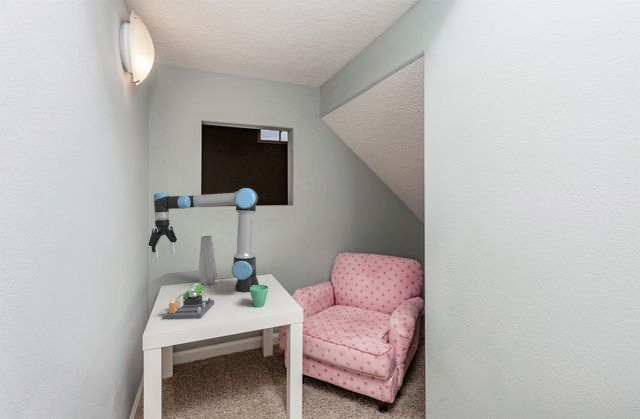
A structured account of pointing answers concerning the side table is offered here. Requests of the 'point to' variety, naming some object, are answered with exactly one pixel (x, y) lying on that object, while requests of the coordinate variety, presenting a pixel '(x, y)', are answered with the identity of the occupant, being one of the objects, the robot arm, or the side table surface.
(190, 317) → the panel
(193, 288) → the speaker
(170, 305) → the fader
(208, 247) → the vase
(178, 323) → the side table surface
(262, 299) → the mug
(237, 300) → the side table surface
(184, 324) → the side table surface
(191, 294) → the button
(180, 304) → the fader
